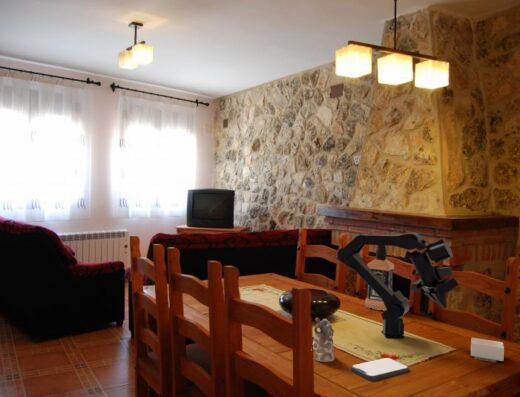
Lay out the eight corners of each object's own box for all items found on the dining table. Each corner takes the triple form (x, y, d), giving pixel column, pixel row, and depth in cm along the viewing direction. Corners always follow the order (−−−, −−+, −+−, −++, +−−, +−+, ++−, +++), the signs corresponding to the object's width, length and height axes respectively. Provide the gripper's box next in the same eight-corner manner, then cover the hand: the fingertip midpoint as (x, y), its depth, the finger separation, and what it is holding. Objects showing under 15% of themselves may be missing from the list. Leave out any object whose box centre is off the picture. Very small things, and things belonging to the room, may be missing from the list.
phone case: (387, 362, 131) (348, 370, 123) (388, 356, 131) (348, 365, 123) (411, 373, 123) (370, 383, 115) (411, 367, 123) (371, 377, 115)
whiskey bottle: (393, 307, 193) (396, 236, 193) (387, 311, 185) (390, 238, 184) (371, 303, 199) (373, 234, 198) (364, 307, 190) (366, 236, 190)
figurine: (329, 363, 126) (330, 323, 126) (307, 358, 130) (308, 319, 130) (338, 356, 132) (339, 318, 132) (317, 351, 136) (318, 314, 136)
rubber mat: (474, 358, 134) (474, 357, 134) (474, 350, 141) (474, 349, 141) (496, 362, 131) (496, 361, 131) (494, 354, 138) (494, 352, 138)
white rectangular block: (471, 343, 135) (503, 348, 131) (471, 337, 140) (502, 342, 136) (470, 355, 135) (503, 361, 131) (470, 349, 140) (502, 354, 136)
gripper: (459, 254, 142) (481, 297, 141) (424, 257, 160) (443, 295, 159) (434, 269, 138) (457, 313, 137) (401, 271, 156) (421, 310, 155)
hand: (444, 307), depth 147 cm, fingers closed
